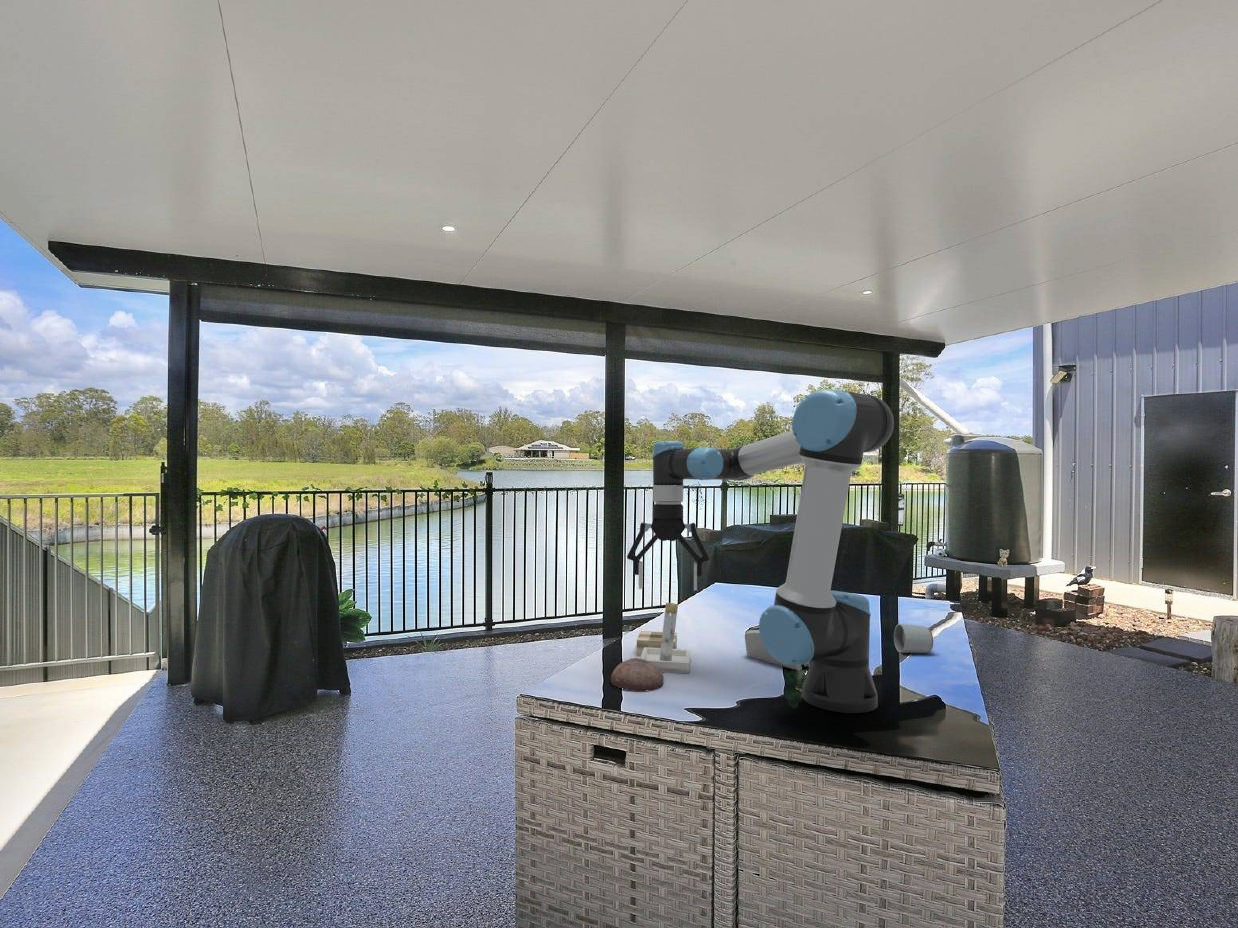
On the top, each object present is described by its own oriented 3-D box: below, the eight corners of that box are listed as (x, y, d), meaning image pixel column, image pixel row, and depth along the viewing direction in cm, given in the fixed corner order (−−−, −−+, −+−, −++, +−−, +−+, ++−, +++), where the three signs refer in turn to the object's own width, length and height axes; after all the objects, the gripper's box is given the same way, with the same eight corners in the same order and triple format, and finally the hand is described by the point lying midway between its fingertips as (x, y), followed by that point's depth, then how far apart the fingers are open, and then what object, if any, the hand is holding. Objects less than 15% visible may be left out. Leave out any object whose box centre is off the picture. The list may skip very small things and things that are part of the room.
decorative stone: (620, 673, 156) (620, 650, 156) (669, 679, 152) (669, 655, 152) (602, 688, 145) (603, 663, 145) (654, 695, 141) (655, 669, 141)
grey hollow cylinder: (935, 656, 175) (935, 627, 175) (904, 656, 174) (904, 627, 175) (916, 646, 185) (916, 619, 185) (888, 646, 185) (888, 618, 185)
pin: (671, 662, 161) (677, 606, 161) (659, 660, 161) (665, 604, 162) (671, 659, 164) (678, 603, 164) (659, 657, 164) (666, 602, 165)
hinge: (811, 667, 163) (804, 631, 161) (800, 676, 160) (792, 640, 158) (758, 652, 176) (750, 618, 174) (747, 660, 173) (739, 626, 171)
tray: (689, 673, 156) (689, 663, 156) (639, 670, 157) (639, 660, 157) (690, 659, 168) (690, 649, 168) (643, 656, 169) (643, 647, 169)
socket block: (674, 657, 169) (675, 642, 169) (636, 655, 171) (636, 640, 171) (676, 647, 179) (676, 632, 179) (640, 645, 180) (640, 630, 181)
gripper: (718, 503, 165) (718, 587, 165) (620, 502, 168) (620, 585, 168) (718, 504, 158) (718, 592, 157) (616, 503, 161) (616, 589, 160)
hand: (667, 589), depth 163 cm, fingers open, 13 cm apart
